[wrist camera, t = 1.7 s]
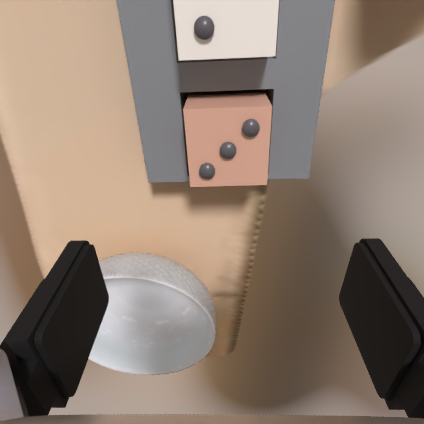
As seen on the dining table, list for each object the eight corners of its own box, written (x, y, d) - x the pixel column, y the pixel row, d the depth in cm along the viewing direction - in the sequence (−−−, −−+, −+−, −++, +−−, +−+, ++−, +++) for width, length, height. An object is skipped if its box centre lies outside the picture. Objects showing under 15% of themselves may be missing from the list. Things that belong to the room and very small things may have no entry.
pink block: (264, 92, 24) (272, 107, 20) (261, 163, 27) (267, 186, 24) (188, 95, 24) (182, 110, 21) (193, 165, 28) (190, 188, 24)
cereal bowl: (224, 238, 35) (225, 286, 29) (210, 330, 44) (208, 380, 38) (71, 224, 34) (39, 270, 28) (89, 320, 43) (68, 370, 37)
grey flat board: (364, -333, 15) (394, -401, 12) (301, 163, 29) (308, 178, 27) (79, -307, 15) (52, -367, 13) (154, 168, 30) (148, 182, 27)
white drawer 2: (272, -61, 19) (284, -76, 15) (267, 49, 22) (276, 56, 19) (176, -55, 19) (166, -69, 16) (184, 52, 23) (178, 61, 19)
